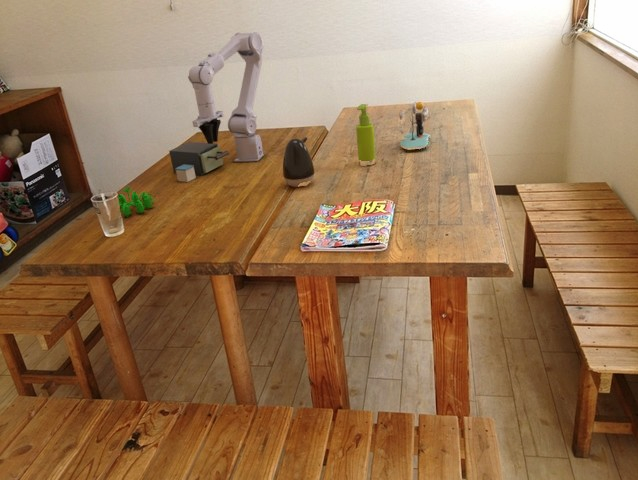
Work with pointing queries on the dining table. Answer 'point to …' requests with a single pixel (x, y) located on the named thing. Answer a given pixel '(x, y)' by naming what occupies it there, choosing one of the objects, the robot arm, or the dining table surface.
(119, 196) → the green lumpy piece
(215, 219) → the dining table surface
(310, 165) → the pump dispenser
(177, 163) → the cabinet
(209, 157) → the drawer
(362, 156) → the soap dispenser
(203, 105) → the robot arm
